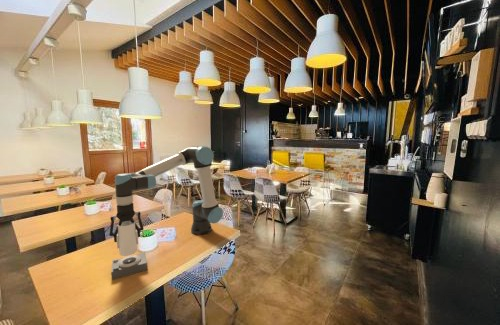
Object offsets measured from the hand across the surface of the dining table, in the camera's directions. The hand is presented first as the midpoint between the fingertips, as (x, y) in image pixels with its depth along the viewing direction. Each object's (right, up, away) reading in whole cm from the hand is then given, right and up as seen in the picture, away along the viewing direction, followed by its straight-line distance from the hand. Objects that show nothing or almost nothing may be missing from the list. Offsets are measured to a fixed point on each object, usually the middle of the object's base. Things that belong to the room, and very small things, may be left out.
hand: (128, 245), depth 115 cm
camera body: (0, -13, +2) cm, 13 cm away
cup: (0, -4, 0) cm, 4 cm away
